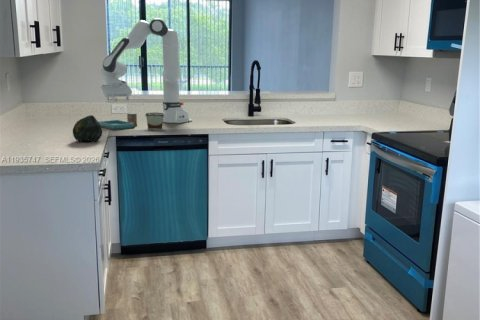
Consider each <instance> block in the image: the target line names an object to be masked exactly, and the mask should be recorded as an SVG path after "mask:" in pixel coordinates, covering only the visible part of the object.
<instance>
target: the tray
mask: <svg viewBox="0 0 480 320" xmlns="http://www.w3.org/2000/svg"><path fill="white" fill-rule="evenodd" d="M98 122H99V124H100V125H101V127H102V128H104V127H105V129H108V128H109V129H110V130H114V131H118V130H119V131H121V130H127V129H128V130H129V129H134V128H135V126H134V123H130V122H127V121H123V120H120V119H113V120H102V121H101V120H100V121H98Z"/></svg>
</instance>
